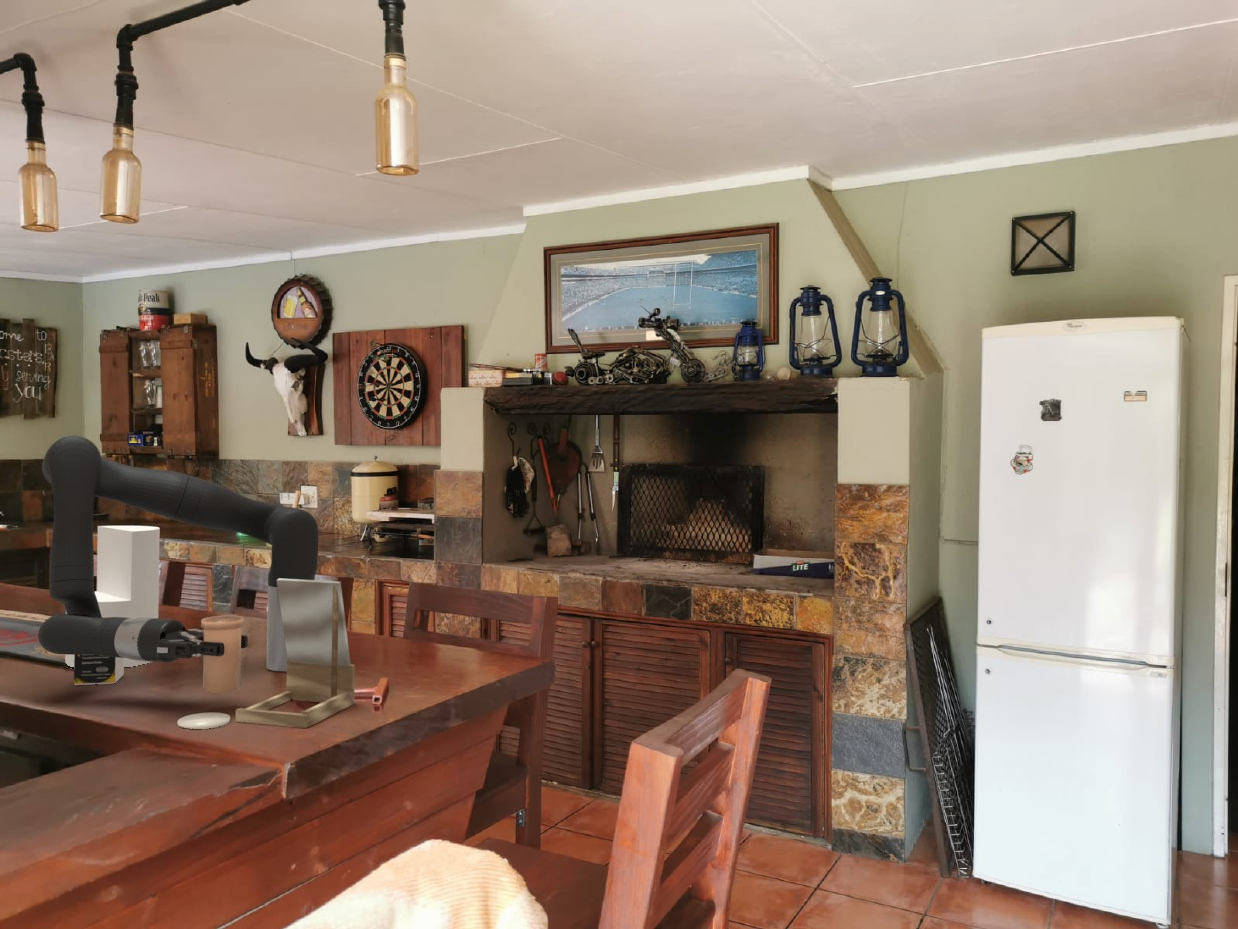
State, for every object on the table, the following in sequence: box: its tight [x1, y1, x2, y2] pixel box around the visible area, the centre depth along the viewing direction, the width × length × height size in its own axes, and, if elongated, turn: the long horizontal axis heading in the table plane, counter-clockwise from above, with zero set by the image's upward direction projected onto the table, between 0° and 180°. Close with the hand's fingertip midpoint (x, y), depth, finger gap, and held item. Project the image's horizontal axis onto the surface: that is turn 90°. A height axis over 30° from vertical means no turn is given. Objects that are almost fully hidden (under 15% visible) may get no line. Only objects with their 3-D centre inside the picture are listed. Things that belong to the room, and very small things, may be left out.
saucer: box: [176, 712, 231, 730], centre depth 156 cm, size 8×8×1 cm
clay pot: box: [200, 615, 245, 694], centre depth 164 cm, size 7×7×12 cm
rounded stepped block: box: [64, 525, 161, 668], centre depth 200 cm, size 17×17×28 cm
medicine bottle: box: [73, 654, 125, 686], centre depth 183 cm, size 7×7×12 cm
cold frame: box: [235, 578, 356, 729], centre depth 164 cm, size 16×13×23 cm
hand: (234, 645), depth 163 cm, fingers closed on clay pot, 6 cm apart
